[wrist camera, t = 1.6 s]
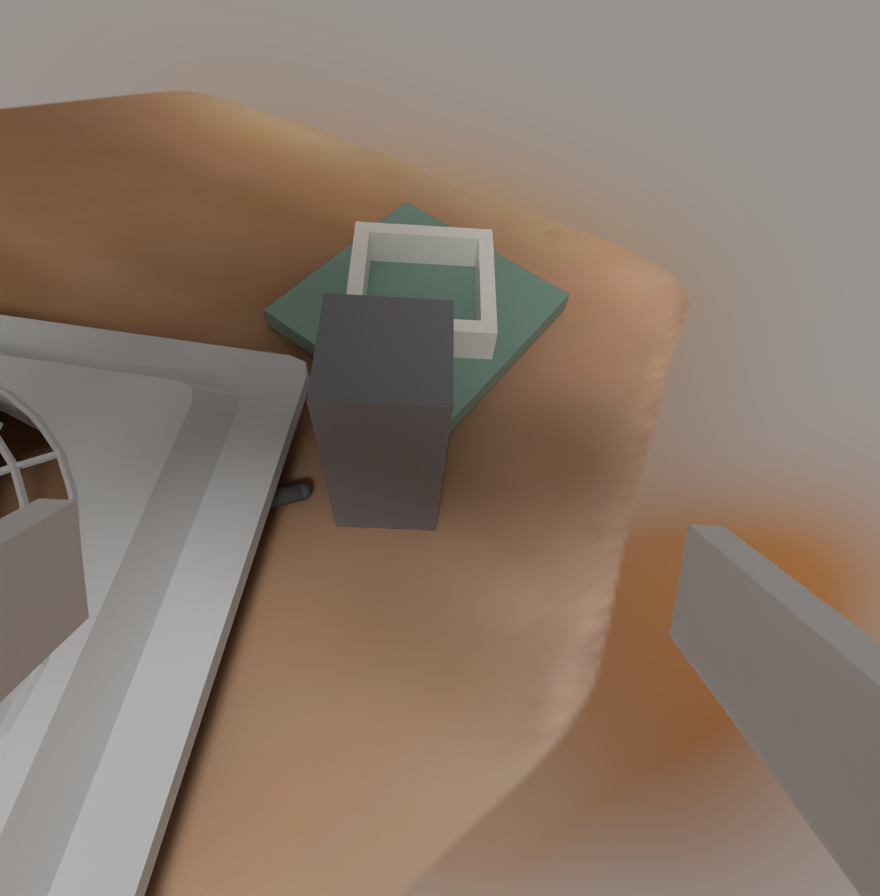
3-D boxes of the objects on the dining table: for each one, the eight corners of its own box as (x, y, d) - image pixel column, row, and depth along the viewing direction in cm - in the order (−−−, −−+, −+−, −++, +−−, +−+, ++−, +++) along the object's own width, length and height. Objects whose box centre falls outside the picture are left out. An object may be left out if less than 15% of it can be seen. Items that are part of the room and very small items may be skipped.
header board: (268, 325, 32) (255, 281, 29) (406, 218, 37) (406, 172, 34) (439, 444, 29) (443, 408, 26) (564, 309, 34) (578, 267, 31)
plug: (336, 526, 26) (306, 400, 18) (346, 437, 29) (324, 288, 20) (435, 530, 26) (453, 407, 18) (437, 442, 29) (453, 296, 20)
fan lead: (111, 550, 25) (103, 543, 24) (110, 533, 25) (102, 526, 25) (313, 500, 27) (311, 493, 26) (310, 485, 27) (308, 477, 26)
